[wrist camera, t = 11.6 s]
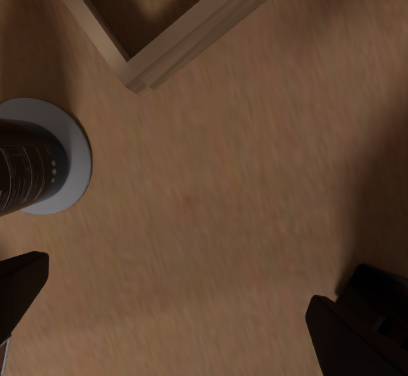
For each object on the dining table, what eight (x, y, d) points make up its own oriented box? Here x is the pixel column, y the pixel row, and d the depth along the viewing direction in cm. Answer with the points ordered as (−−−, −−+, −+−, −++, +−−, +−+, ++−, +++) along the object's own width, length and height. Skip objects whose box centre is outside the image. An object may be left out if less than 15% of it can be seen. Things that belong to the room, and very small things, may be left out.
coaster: (104, 122, 19) (102, 122, 19) (77, 228, 21) (75, 230, 21) (-10, 81, 19) (-15, 79, 19) (-26, 191, 21) (-30, 192, 21)
